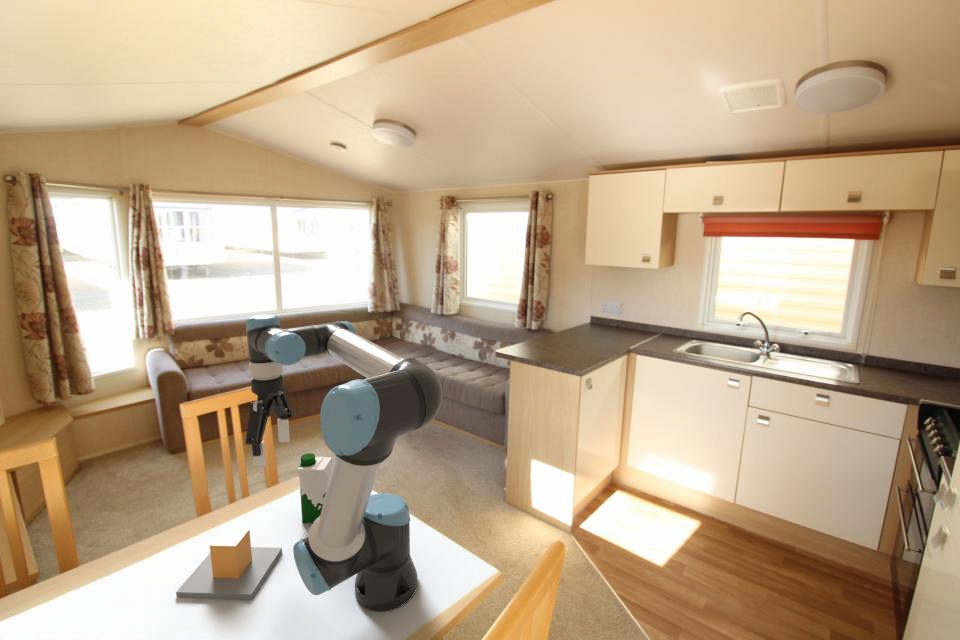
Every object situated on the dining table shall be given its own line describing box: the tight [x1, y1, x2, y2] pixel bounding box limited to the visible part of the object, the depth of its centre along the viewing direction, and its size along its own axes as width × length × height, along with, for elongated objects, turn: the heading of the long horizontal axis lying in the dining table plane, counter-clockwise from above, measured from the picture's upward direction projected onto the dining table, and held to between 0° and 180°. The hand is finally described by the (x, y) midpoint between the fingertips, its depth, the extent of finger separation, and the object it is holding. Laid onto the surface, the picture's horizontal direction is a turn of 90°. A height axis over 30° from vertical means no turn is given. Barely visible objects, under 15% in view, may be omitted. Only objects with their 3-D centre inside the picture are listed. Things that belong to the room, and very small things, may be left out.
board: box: [175, 546, 283, 601], centre depth 113 cm, size 18×16×8 cm
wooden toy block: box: [209, 527, 252, 578], centre depth 113 cm, size 6×6×9 cm
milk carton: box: [297, 452, 333, 524], centre depth 136 cm, size 9×9×20 cm
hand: (272, 453), depth 117 cm, fingers open, 13 cm apart
